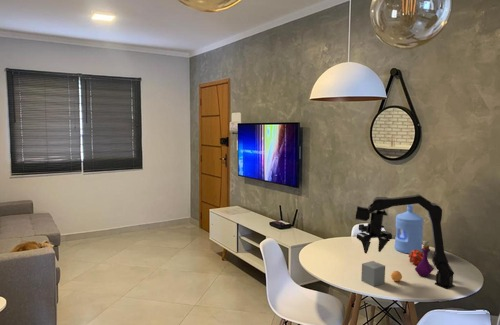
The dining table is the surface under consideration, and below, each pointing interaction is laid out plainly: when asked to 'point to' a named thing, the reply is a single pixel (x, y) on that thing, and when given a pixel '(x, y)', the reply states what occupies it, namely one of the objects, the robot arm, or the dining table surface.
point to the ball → (396, 276)
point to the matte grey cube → (373, 273)
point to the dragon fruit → (415, 257)
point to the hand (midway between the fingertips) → (372, 252)
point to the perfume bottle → (424, 262)
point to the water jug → (409, 231)
